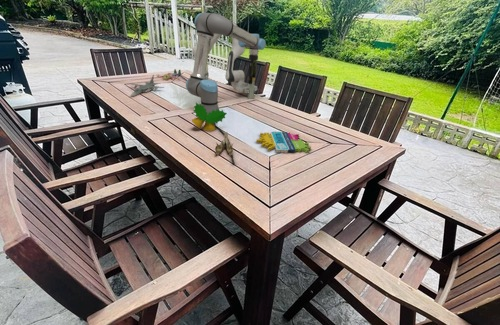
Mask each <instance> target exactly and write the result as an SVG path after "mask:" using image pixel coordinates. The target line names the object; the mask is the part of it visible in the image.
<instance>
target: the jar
mask: <svg viewBox="0 0 500 325" xmlns="http://www.w3.org/2000/svg"><path fill="white" fill-rule="evenodd" d="M255 83H256V80H255V81H252V84H249V90H250V92H247V98H248V99H249V100H253V99H254V97H255V92H254V85H255Z"/></svg>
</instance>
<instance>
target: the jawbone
mask: <svg viewBox="0 0 500 325" xmlns="http://www.w3.org/2000/svg"><path fill="white" fill-rule="evenodd" d="M228 135H229V133H228V131H226V132H224V135H223V140H222V139H221V142H220V144H218V142H215V144H216V146H215V148H214V149H215V152H214V154H215V155H217V156H218V155H220V153H221V152H223V151H224V150H226V152H227V153H228V155H229V156H231V155H233V156H234V154H233V153H234V148H233V144H234V143H230V144H229V142H230V140H229V138H228V137H229V136H228ZM228 140H229V141H228Z"/></svg>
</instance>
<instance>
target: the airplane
mask: <svg viewBox="0 0 500 325" xmlns="http://www.w3.org/2000/svg"><path fill="white" fill-rule="evenodd" d="M154 76H155V75H154V74H152V77H151V78H150V80H149V81H144V83H145V84H137V83H130V85H131V86H133V89H135V90H134V91H133V92H132V93H131V94H130V97H135V96H137V95H139V94H141V93H148V92H150V91H151V90H153V91H157V90H158V88H159V89H162V88H163V89H165V86H156V85H161V82H160V83H159V82H158V83H157V82H155V81H154V78H155V77H154Z"/></svg>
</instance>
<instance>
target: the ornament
mask: <svg viewBox="0 0 500 325" xmlns="http://www.w3.org/2000/svg"><path fill="white" fill-rule="evenodd" d="M219 110H220V108H219V109H217V110H216V111H214V110H212V112H211V113H208V112H206V109H204V106H201V103H198V102H195V105H194V106H193V112H194V113H195V118H192V119H191V122H192V123H193V125H195V127H197V128H198V129H202V130H203V131H206V132H212V131H213V132H214V131H215V130H216V127H215V125H214V123H215V124H218V123H219V122H223V119H226V115H227V114H228V113H227V112H224V110H223V109H221V110H220V111H219ZM207 113H208V115H207Z"/></svg>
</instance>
